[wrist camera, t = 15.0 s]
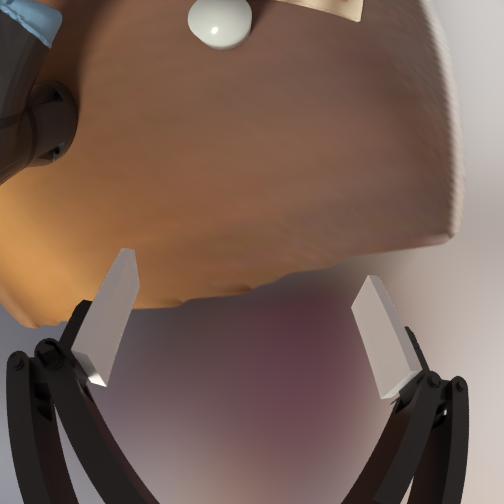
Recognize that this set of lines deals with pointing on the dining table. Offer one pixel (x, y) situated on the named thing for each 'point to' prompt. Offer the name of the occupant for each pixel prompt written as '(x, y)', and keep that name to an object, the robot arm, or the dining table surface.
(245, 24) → the white rounded cylinder
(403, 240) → the dining table surface
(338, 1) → the wooden square frame
